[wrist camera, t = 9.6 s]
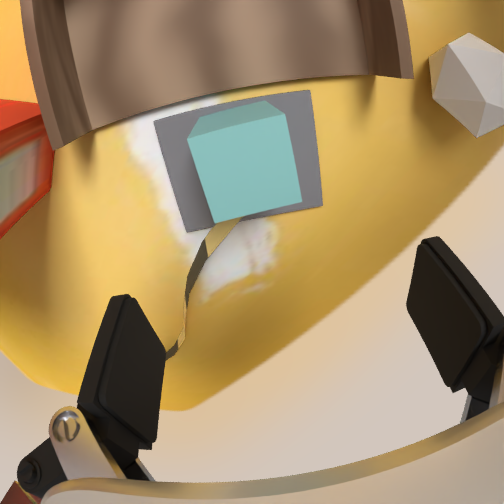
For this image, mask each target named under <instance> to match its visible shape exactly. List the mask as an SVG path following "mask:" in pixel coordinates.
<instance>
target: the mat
mask: <svg viewBox="0 0 504 504" xmlns="http://www.w3.org/2000/svg"><path fill="white" fill-rule="evenodd" d="M261 101H267V102H268V103H270V104H271V105H273V106H274V107H275V108H277V109H278V110H280V111H281V112H283V113H284V114H285V116H286V121H287V125H288V130H289V135H290V140H291V145H292V150H293V155H294V160H295V165H296V170H297V176H298V181H299V186H300V192H301V198H302V202H299V203H295V204H291V205H287V206H282V207H278V208H274V209H270V210H266V211H262V212H258V213H254V214H250V215H246V216H244V217H243V218H241V219H240V220H239V222H240V221H245V220H250V219H255V218H260V217H265V216H270V215H275V214H281V213H286V212H291V211H297V210H302V209H308V208H313V207H319V206H323V202H322V189H321V178H320V167H319V157H318V148H317V139H316V130H315V122H314V115H313V107H312V100H311V93H310V90H304V91H295V92H287V93H280V94H273V95H266V96H260V97H254V98H249V99H243V100H238V101H233V102H228V103H223V104H218V105H214V106H209V107H205V108H200V109H196V110H192V111H188V112H184V113H181V114H177V115H173V116H169V117H166V118H162V119H159V120H155V121H154V125H155V129H156V133H157V136H158V140H159V143H160V147H161V150H162V154H163V157H164V161H165V164H166V167H167V171H168V174H169V178H170V181H171V184H172V187H173V191H174V194H175V197H176V200H177V204H178V207H179V210H180V213H181V216H182V219H183V222H184V225H185V228H186V232H192V231H196V230H201V229H206V228H210V227H214V226H215V225H216V224H217V223H214V220H213V217H212V214H211V211H210V208H209V205H208V202H207V199H206V196H205V193H204V190H203V187H202V184H201V181H200V178H199V175H198V172H197V169H196V166H195V163H194V160H193V157H192V153H191V150H190V147H189V144H188V141H187V138H188V136H189V134H190V133H191V131H192V129H193V128H194V126H195V124H196V122H197V121H198V119H199V117H202V116H205V115H209V114H213V113H216V112H220V111H224V110H227V109H231V108H235V107H239V106H243V105H248V104H252V103H256V102H261Z"/></svg>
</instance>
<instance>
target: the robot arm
mask: <svg viewBox="0 0 504 504" xmlns="http://www.w3.org/2000/svg"><path fill="white" fill-rule="evenodd" d="M406 306H407V310H408V313H409V314H410V316H411V318H412V320H413V322H414V324H415V325H416V327H417V329H418V331H419V333H420V335H421V337H422V339H423V341H424V342H425V344H426V346H427V348H428V350H429V352H430V354H431V356H432V358H433V360H434V362H435V364H436V367H437V369H438V371H439V373H440V375H441V377H442V379H443V381H444V383H445V385H446V386H447V387H450V388H451V390H452V392H453V393H454V392H456V391H459V390H461V389H463V388H466V390H467V392H468V396H467V400H466V404H465V407H464V411H463V414H462V418H461V421H460V424H458V425H456V426H454V427H452V428H449V429H447V430H445V431H443V432H440V433H438V434H436V435H434V436H431V437H429V438H426V439H424V440H421V441H419V442H416V443H414V444H411V445H408V446H405V447H403V448H400V449H397V450H394V451H391V452H388V453H385V454H382V455H378V456H376V457H372V458H368V459H365V460H361V461H358V462H354V463H350V464H346V465H342V466H338V467H334V468H329V469H325V470H320V471H315V472H309V473H304V474H298V475H292V476H285V477H278V478H270V479H260V480H250V481H238V482H219V483H218V482H216V483H180V482H156V481H155V480H154V478H153V477H152V476H151V474H150V473H149V472H148V470H147V469H146V468H145V466H144V465H143V464H142V462H141V461H140V459H139V458H138V451H139V449H146V450H152V443H154V442H155V441H156V438H157V429H158V419H159V409H160V400H161V392H162V384H163V376H164V368H165V361H166V351H165V348H164V346H163V344H162V343H161V341H160V340H159V338H158V336H157V335H156V333H155V331H154V330H153V328H152V326H151V325H150V323H149V321H148V319H147V318H146V316H145V314H144V313H143V311H142V309H141V307H140V305H139V304H138V302H137V300H136V299H135V298H131V296H130V295H129V294H124V295H118V296H113V297H111V299H110V301H109V304H108V306H107V309H106V312H105V315H104V317H103V320H102V323H101V326H100V328H99V331H98V334H97V337H96V340H95V343H94V346H93V349H92V352H91V355H90V359H89V362H88V365H87V368H86V372H85V375H84V378H83V382H82V385H81V389H80V392H79V396H78V400H77V403H78V405H77V408H75V407H72V406H68V407H63V408H61V409H59V410H58V411H57V412H56V413H55V414H54V416H53V417H52V419H51V421H50V424H49V435H50V437H49V438H48V439H47V440H46V441H44V442H43V443H42V444H41V445H39V446H38V447H37V448H36V449H34V450H33V451H32V452H31V453H29V454H28V455H27V456H26V457H24V458H23V459H22V460H21V462H20V464H19V466H18V470H17V478H18V482H17V481H14V483H13V484H12V486H11V487H10V489H9V490H8V492H7V493H6V495H5V497H4V498H3V500H2V501H1V503H0V504H504V316H503V315H502V313H501V312H500V310H499V309H498V308H497V306H496V305H495V304H494V302H493V301H492V299H491V298H490V297H489V295H488V294H487V293H486V292H485V290H484V289H483V288H482V286H481V285H480V284H479V283H478V282H477V280H476V279H475V278H474V276H473V275H472V274H471V273H470V271H469V270H468V269H467V268H466V267H465V265H464V264H463V263H462V262H461V261H460V260H459V258H458V257H457V256H456V255H455V254H454V253H453V251H452V250H451V249H450V248H449V247H448V246H447V245H446V244H445V242H444V241H443V240H442V239H441V238H440V237H437V236H436V237H431V238H427V239H423V240H422V241H421V244H420V245H418V247H417V252H416V258H415V263H414V269H413V275H412V279H411V284H410V289H409V293H408V298H407V303H406Z"/></svg>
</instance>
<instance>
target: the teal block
mask: <svg viewBox="0 0 504 504" xmlns="http://www.w3.org/2000/svg"><path fill="white" fill-rule="evenodd" d="M187 141H188V144H189V147H190V150H191V153H192V157H193V160H194V163H195V166H196V169H197V172H198V175H199V178H200V181H201V184H202V187H203V190H204V193H205V196H206V199H207V202H208V205H209V208H210V211H211V214H212V217H213V220H214V223H218V222H222V221H226V220H230V219H234V218H238V217H242V216H246V215H250V214H254V213H258V212H262V211H266V210H270V209H274V208H278V207H282V206H287V205H291V204H295V203H299V202H302V198H301V192H300V186H299V181H298V176H297V170H296V165H295V160H294V155H293V150H292V145H291V140H290V135H289V130H288V125H287V121H286V116H285V114H284V113H283V112H281V111H280V110H278V109H277V108H275V107H274V106H273V105H271V104H270V103H268V102H267V101H261V102H256V103H252V104H248V105H243V106H239V107H235V108H231V109H227V110H224V111H220V112H216V113H213V114H209V115H205V116H202V117H199V119H198V121H197V122H196V124H195V126H194V128H193V129H192V131H191V133H190V134H189V136H188V138H187Z"/></svg>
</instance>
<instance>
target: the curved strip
mask: <svg viewBox="0 0 504 504" xmlns="http://www.w3.org/2000/svg"><path fill="white" fill-rule="evenodd" d="M243 217H244V216H242V217H238V218H234V219H230V220H226V221H222V222H218V223H217V224H216V225H215V226H214V227H213V228H212V229H211V231H210V232H209V233H208V235H207V236H206V237H205V239H204V240H203V242H202V244H201V246H200V248H199V251H198V253H197V255H196V258H195V260H194V262H193V264H192V267H191V269H190V272H189V274H188V277H187V284H186V291H185V298H184V327H183V329H182V331H181V333H180V335H179V337H178V339H177V341H176V343H175V345H174V346H173V347H172V348H171V349H170V350H169V351H168V352H166V360H167V359H169V358H171V357H172V356H174V355H175V353H176V352H177V350H178V349H179V347H180V346H181V344H182V343H183V341H184V340H185V318H186V311H187V305H188V298H189V293H190V291H191V289H192V287H193V285H194V283H195V281H196V279H197V277H198V275H199V273H200V271H201V269H202V267H203V265H204V263H205V261H206V260H207V258H208V257H209V256H210V255H211V254H212V252H213V251H214V250H215V249H216V248H217V246H218V245H219V244H220V243H221V242H222V240H223V239H224V238H225V237H226V236H227V235H228V233H229V232H230V231H231V230H232V229H233V227H234V226H235V225H236V224H237V223H238V222H239V220H240V219H241V218H243Z"/></svg>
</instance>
